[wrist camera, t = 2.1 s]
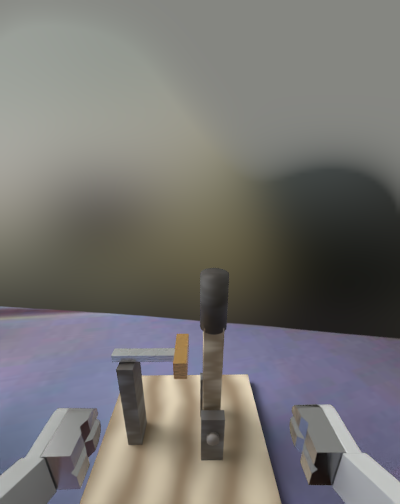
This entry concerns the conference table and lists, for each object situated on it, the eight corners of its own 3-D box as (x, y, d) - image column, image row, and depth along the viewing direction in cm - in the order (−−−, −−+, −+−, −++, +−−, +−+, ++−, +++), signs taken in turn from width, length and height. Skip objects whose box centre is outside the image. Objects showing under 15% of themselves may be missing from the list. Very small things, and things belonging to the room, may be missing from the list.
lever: (200, 426, 29) (200, 279, 22) (199, 403, 32) (200, 268, 25) (223, 425, 29) (231, 279, 22) (220, 402, 32) (227, 267, 25)
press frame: (69, 549, 23) (32, 455, 18) (127, 383, 42) (117, 314, 37) (287, 545, 23) (312, 451, 18) (246, 382, 42) (253, 313, 37)
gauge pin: (106, 379, 25) (103, 364, 24) (121, 348, 30) (119, 334, 29) (187, 378, 25) (186, 363, 24) (188, 347, 30) (188, 333, 29)
